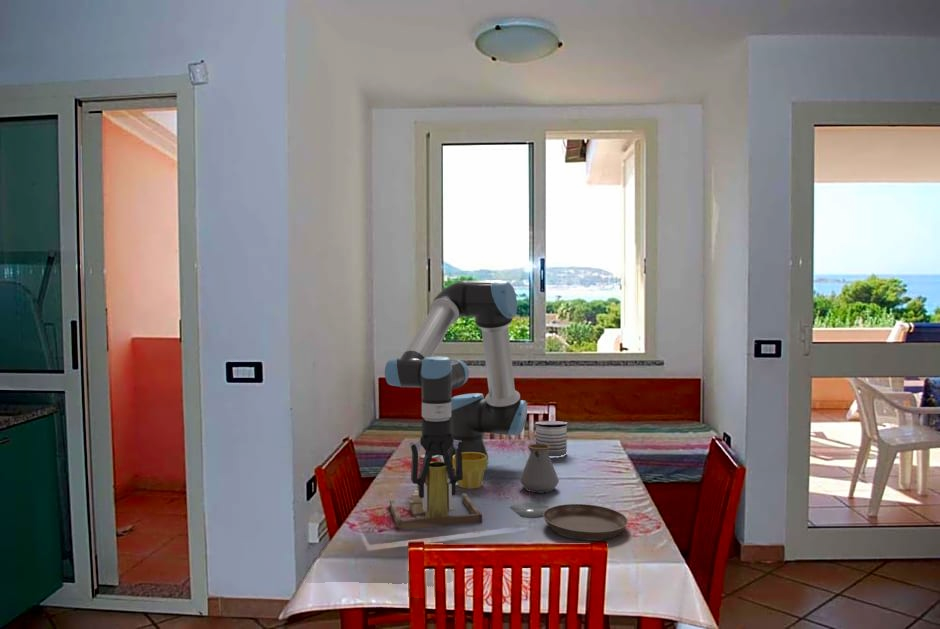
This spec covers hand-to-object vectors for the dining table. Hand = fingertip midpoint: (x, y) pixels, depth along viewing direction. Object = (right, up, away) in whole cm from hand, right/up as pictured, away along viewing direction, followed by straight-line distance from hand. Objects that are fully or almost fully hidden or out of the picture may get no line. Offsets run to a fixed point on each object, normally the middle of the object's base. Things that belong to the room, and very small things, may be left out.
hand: (437, 508), depth 170 cm
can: (+37, -1, +70) cm, 79 cm away
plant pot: (+8, -3, +29) cm, 30 cm away
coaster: (+24, -3, +9) cm, 26 cm away
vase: (0, -3, 0) cm, 3 cm away
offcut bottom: (-2, -4, +8) cm, 9 cm away
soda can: (-3, -3, +21) cm, 22 cm away
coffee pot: (+28, -3, +24) cm, 37 cm away
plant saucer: (+37, -4, -4) cm, 37 cm away
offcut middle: (-2, -2, +7) cm, 8 cm away
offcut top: (-2, 0, +7) cm, 8 cm away
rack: (-1, -3, +3) cm, 5 cm away
